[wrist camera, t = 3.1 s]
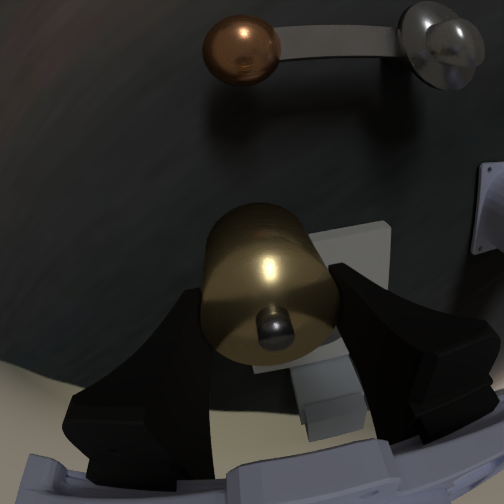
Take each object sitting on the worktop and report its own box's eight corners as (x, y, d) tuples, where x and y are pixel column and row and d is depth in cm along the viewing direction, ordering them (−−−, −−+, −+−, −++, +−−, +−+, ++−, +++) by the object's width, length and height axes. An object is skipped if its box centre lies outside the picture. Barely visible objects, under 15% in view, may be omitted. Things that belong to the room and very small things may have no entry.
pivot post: (421, 21, 14) (491, 6, 8) (431, 89, 16) (505, 97, 10) (355, 14, 14) (415, -16, 8) (368, 88, 16) (435, 90, 10)
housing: (301, 192, 14) (348, 256, 9) (313, 282, 16) (349, 366, 11) (193, 216, 14) (177, 294, 9) (220, 302, 16) (222, 394, 11)
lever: (381, 19, 13) (414, 7, 10) (391, 76, 14) (426, 75, 11) (199, 31, 13) (192, 13, 10) (211, 94, 14) (207, 91, 11)
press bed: (383, 220, 20) (437, 271, 14) (373, 359, 27) (400, 416, 21) (225, 249, 21) (226, 318, 14) (258, 385, 27) (267, 449, 21)
